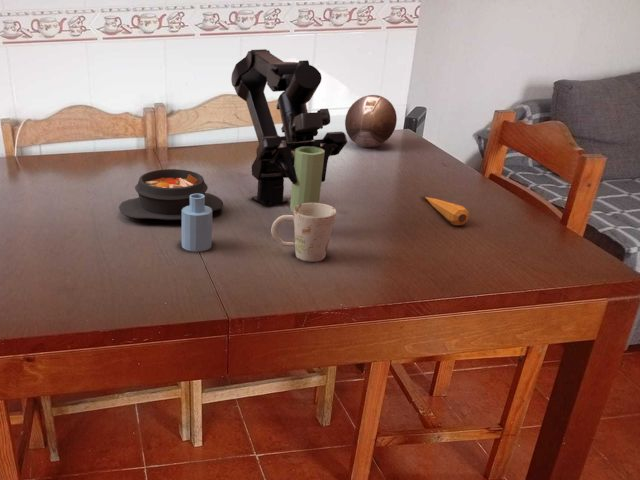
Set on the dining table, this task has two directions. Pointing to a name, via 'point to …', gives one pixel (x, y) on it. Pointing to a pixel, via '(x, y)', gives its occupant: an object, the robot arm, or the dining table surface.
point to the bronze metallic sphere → (370, 121)
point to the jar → (307, 175)
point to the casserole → (167, 195)
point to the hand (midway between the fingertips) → (309, 182)
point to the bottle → (197, 225)
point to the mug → (309, 230)
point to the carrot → (450, 211)
